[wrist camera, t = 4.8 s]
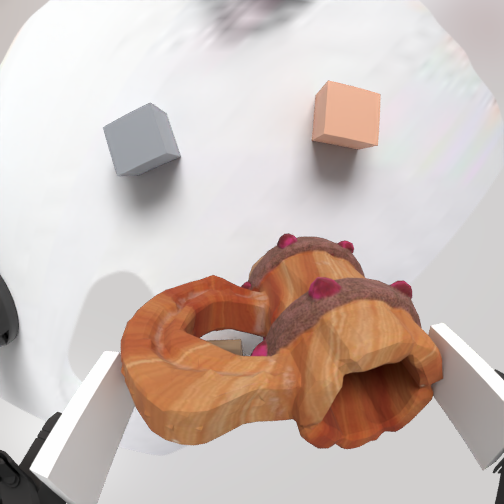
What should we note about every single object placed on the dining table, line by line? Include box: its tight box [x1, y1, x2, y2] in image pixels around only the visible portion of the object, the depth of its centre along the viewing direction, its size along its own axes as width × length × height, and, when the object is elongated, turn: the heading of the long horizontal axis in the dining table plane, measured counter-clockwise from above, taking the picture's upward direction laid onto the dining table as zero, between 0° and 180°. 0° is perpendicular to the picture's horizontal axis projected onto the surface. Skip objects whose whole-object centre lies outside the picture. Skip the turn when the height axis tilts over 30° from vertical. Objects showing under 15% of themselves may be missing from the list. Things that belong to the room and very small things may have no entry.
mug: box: [121, 234, 443, 449], centre depth 15 cm, size 15×8×15 cm, turn 84°
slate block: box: [103, 103, 181, 176], centre depth 23 cm, size 5×5×5 cm
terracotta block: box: [312, 81, 380, 150], centre depth 23 cm, size 5×5×5 cm
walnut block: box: [207, 339, 243, 356], centre depth 30 cm, size 5×5×5 cm
